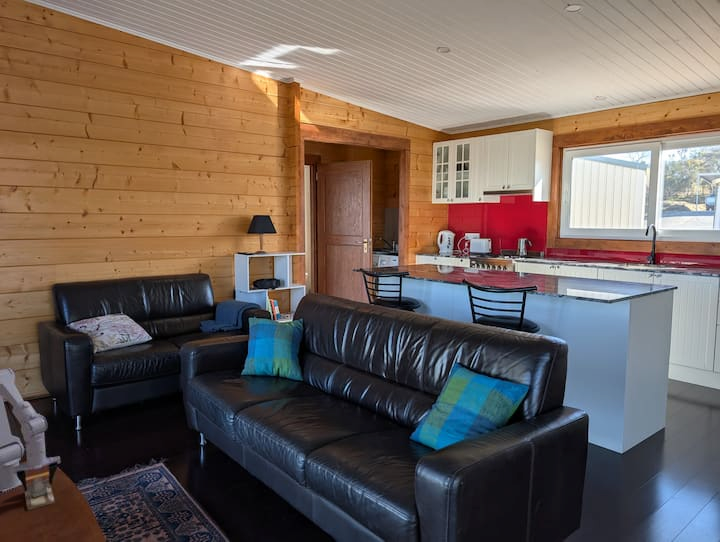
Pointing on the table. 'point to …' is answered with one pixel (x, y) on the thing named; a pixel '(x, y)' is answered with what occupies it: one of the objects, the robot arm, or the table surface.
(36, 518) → the table surface
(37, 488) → the greenish grey block
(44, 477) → the orange brown bar
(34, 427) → the robot arm
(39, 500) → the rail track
